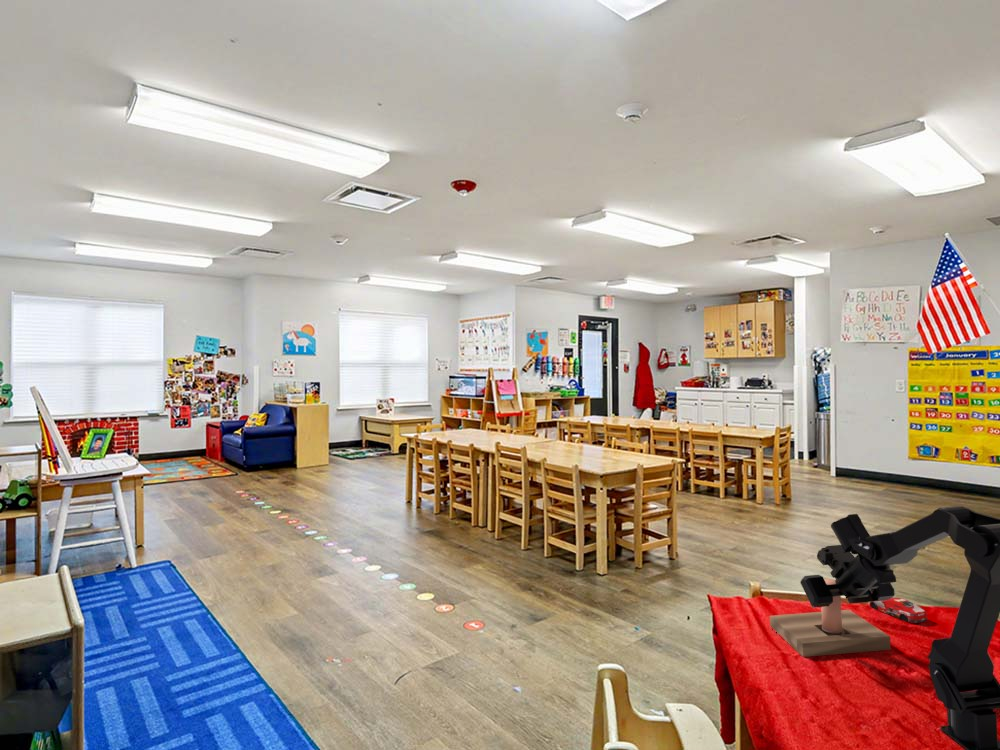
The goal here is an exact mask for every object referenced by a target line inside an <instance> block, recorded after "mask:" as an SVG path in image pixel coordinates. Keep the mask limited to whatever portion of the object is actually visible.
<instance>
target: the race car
mask: <svg viewBox="0 0 1000 750" xmlns="http://www.w3.org/2000/svg"><path fill="white" fill-rule="evenodd" d="M881 605H882V606H881ZM869 606H870V607H871V609H874V610H876V611H880V612H882V613H885V614H888V615H889V616H893V617H895V618H897V619H900V620H901V621H903V622H905V623H912V624H913V623H914V624H918V623H919V624H920V623H923V622H926V621H928V615H927V612H926V610H924V609H923V608H922V607H920V606H919V605H917V604H915V603H913V602H911V601H910V600H907V599H906V598H905V599H904V598H902V597H892V598H891V599H887V600H882V601H873V602H869Z"/></svg>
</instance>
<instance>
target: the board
mask: <svg viewBox="0 0 1000 750" xmlns="http://www.w3.org/2000/svg"><path fill="white" fill-rule="evenodd" d="M841 615H842V630H843V633H842V635H833V636H828V635H826V634H825V633H824V632H822V613H821V611H815V612H803V613H802V612H800V613H790V614H789V613H788V614H779V615H778V614H777V615H769V627H770V626H771V627H772V628H773V629H774V630H775V631H776V632H777V633H778V634H780V635H781V636H782V637H783V638H784V639H785V640H786V641H787V642H788V643H789V644H790V645H791V646H792V647H793V648H794V651H796V652H797V653H798V654H799V656H801V657H803V658H805V657H816V656H826V655H827V656H828V655H829V656H831V655H841V654H842V655H843V654H851V653H852V654H853V653H865V652H876V651H877V652H879V651H887V650H888V651H890V650H891V636H890V635H889V634H887V633H885V632H884V631H883V630H881V629H880V628H878V627H876V626H874V624H872V623H870V622H869V621H868V620H865V619H864V618H863V617H861V616H859V615H858V614H857V613H854V612H853V611H852V610H850V609H841ZM778 634H777V635H778ZM787 642H786V643H787ZM788 643H787V644H788ZM789 644H788V645H789ZM790 645H789V646H790ZM791 646H790V647H791ZM792 647H791V648H792ZM793 648H792V649H793Z"/></svg>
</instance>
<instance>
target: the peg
mask: <svg viewBox="0 0 1000 750" xmlns="http://www.w3.org/2000/svg"><path fill="white" fill-rule="evenodd" d="M824 580H825V582H826V584H827V585H832V584H836V583H835V580H836V579H831V578H824ZM841 597H842V596H836V597H833V602H832V603H831V604H830V605H829V606H825V607H820V610H821V611H820V612H821V613H822V632H824V633H825V634H826V635H828V636H833V635H842V633H843V630H842V615H841V610H842V598H841Z"/></svg>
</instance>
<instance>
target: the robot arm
mask: <svg viewBox="0 0 1000 750" xmlns="http://www.w3.org/2000/svg"><path fill="white" fill-rule="evenodd" d="M830 528H831V530H832V532H833V534H834V535H835V537H836V538H837V540H838V541H839V543H840V544H834V545H827V546H825V547H821V549H819V550H818V551H817V553H816V557H817V560H818V561H819V562H820V563H821V565H823V566H828V567H829V568H830V569H831V571H830V572H829V573H830V574H831V577H832V578H835V579H834V580H835V583H836V584H832V585H827V584H826V582H825V580H824V579H825V578H824V576H823V575H821V574H812V575H804V576H803V577H802V578H801V580H800V582H799V583H800V585H801V587H802V589H803V591H804V593H805V595H806V597H807V599H808V602H809V604H810V606H811V608H821V607H825V606H829V605H830V604H831V603H832V602H833V597H836V596H841V597H843V596H844V598H845V599H846V600H847V601H848V603H849V604H850V605H851V604H859V603H870V602H873V601H882V600H887V599H891V598H894V596H895V588H894V587H893V585H892V584H893V583H896V582H897V578H896V575H895V574H894V570H893V569H892V568H891V566H892V565H904V564H908V563H909V562H910V561H912V560H913V559H914V558H916V557H917V556H918V551H920V550H921V549H923V548H926V547H927V546H930V545H933V544H934V543H936V542H939V541H940V540H941V541H942V540H944V539H946V538H947V537H949V538H950V540H951V541H952V542H953V543H954V544H955V545H956V546H958V547H960V548H962V549H964V556H965V558H966V562H967V563H968V565H969V567H970V568H969V569H970V572H969V575H968V578H967V582H966V584H965V585H966V586H965V588H964V592H963V595H962V597H961V598H962V599H961V602H960V604H959V609H958V612H957V614H956V615H957V616H956V619H955V622H954V626H953V627H952V631H951V635H950V637H944V638H937V639H936V638H935V639H933V641H932V642H931V647H930V652H929V654H928V655H927V656H926V658H927V659H928V660H929V661H928V670H929V674H930V678H931V680H932V683H933V684H932V685H933V687H934V692H935V695H936V697H937V700H938V701H940V702H941V703H942V704H943V707H944V708H946V717H947V724H948V725H941V726H939V729H940V731H942V732H943V733H944V732H945V733H946V735H947V734H948V735H947V736H948V737H949V736H950V737H949V738H951V739H952V738H953V739H954V740H955V741H954V740H953V739H952V740H953V741H954V742H956V743H957V744H958V743H959V744H958V745H960V746H961V747H962V746H963V747H964V748H963V747H962V748H963V749H965V750H1000V740H999V739H998V720H997V719H998V717H997V712H996V711H994V710H997V709H1000V683H999V680H998V679H997V678H996V676H995V675H994V671H995V665H994V663H993V660H992V658H991V656H990V654H989V651H988V650H989V647H990V644H991V641H992V638H993V635H994V631H995V629H996V626H997V623H998V619H999V617H1000V518H999V517H995V516H990V515H987V514H984V513H980V512H977V511H974V510H973V509H971V508H968V507H965V506H963V505H956V506H954V505H953V506H944V507H939V508H938V507H937V509H935V510H934V511H933V512H932V513H930V514H928V515H926V516H924V517H922V518H920V519H917V520H916V521H914V522H911V523H909V524H907V525H906V526H904V527H902V528H900V529H898V530H896V531H892V532H885V533H881V534H875V535H870V533H869V531H868V530H867V529H866V527H865V525H864V523H863V522H862V520H861V518H860V516H859V514H858V513H850V514H848V515H847V516H845V517H841V518H840V519H837V520H836V521H833V522H831V524H830ZM855 555H856V556H855ZM945 733H944V734H945Z"/></svg>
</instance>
